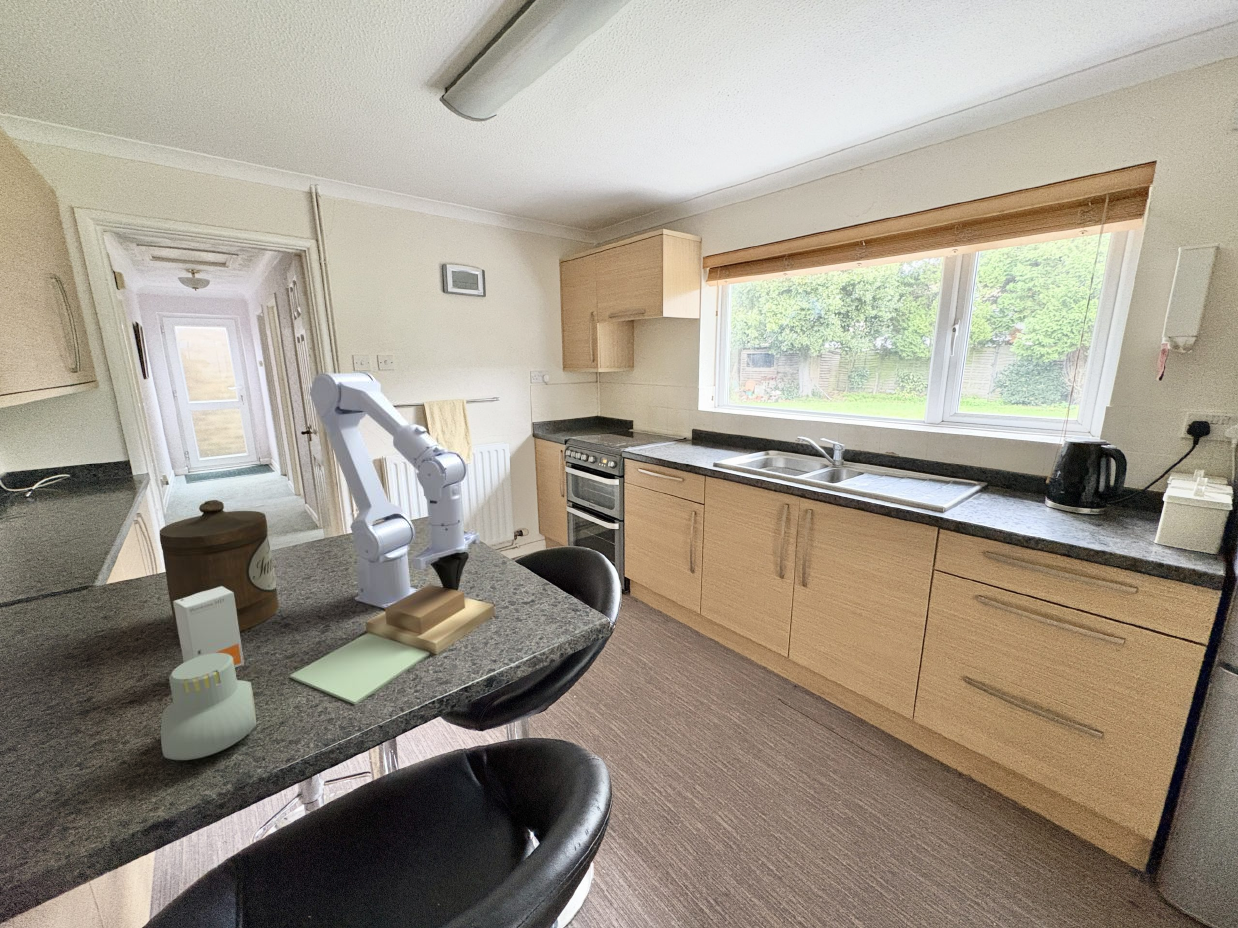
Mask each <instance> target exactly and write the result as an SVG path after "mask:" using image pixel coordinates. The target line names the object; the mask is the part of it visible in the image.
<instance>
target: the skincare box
mask: <svg viewBox="0 0 1238 928" xmlns="http://www.w3.org/2000/svg"><path fill="white" fill-rule="evenodd" d="M173 604H174V609H175V615H176V621H177V627H178V633H179V635H178V637H179V643H180V648H181V649H180V650H181V654H182V659H183V660H182V661H183V663H184V662H186V661H189V660H191V659H193V658H196V657H199V656H202V655H206V654H212V653H225V654H228V655H231V656H232V657H233V662H234V667H235V669H236V668H240V667H242V666H244V664H245V662H244V653H243V648H242V641H241V634H240V632H239V626H238V620H237V613H236V606H235V599H234V593H233V592H232V591H230V590H228V589H226V588H224V587H223V586H221V587H217V588H214V589H211V590H208V591H203V592H200V593H196V594H194V595H191V596H189V597H185V598H182V599H179V600H175V601H173Z"/></svg>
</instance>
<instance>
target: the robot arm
mask: <svg viewBox="0 0 1238 928" xmlns="http://www.w3.org/2000/svg"><path fill="white" fill-rule="evenodd" d="M381 384H382V383H380V382H379V381H378V380H377V379H375V377H374V376H373V375H372V374H371V373H369V372H365V371H361V372H346V373H345V372H344V373H341V372H340V373H339V372H337V373H336V372H335V373H328V372H320V373H317V375H316V376H315V377H314V378H313V381H312V384H311V387H310V391H309V396H310V399H311V401H312V402H313V406H314V407H315V410H316V413H317V414H318V418H319V420H320V422H321V423H322V425H323V428H324V431H325V433H326V435H327V438H328V440H329V443H330V446H331V447H332V450H333V453H334V455H335V458H336V459H337V463H338V464H339V467H340V469H341V471H342V474H343V477H344V478H345V479H344V480H345V482H346V485H347V486H348V488H349V491H350V493H351V496H352V498H353V501H354V503H355V506H356V508H357V510H358V513H357V515H356V516H355V518H354V520H353V521H352V523H351V524H350V531H351V532H352V538H353V546H354V547H353V548H354V550H355V552H356V554H357V555H359V557H358V559H357V561H356V565H355V574H356V582H357V583H356V584H357V593H358V595H357V596H355V597H354V600H355V601H358V602H360V603H361V602H362V603H364V604H368V605H371V606H374V607H378V608H383V609H385V607H387V606H389V605H391V604H393V603H395V602H397V601H399V600H401V599H403V598H405V597H407V596H409V595H411V594H412V593H414V592H416V591H418V590H419V589H418V588H417V589H416V588H413V587H411V579H410V569H409V560H408V559H409V557H408V551H410V550H411V548H410V547H411V544H412V543H413V542H414V540H415V536H416V532H415V526H414V524H413V523H412V520H410V519H409V518H408V517H407V515H406V513H405V511H404V509H403V508H402V507H401V506H399V505H398V504H397V505H396V504H395V503H392V502H390V501H389V499H388V497H387V494H386V492H385V489H384V487H383V485H382V482H381V480H380V477H379V474H378V472H377V470H376V468H375V464H374V463H373V461H372V458H371V456H370V453H369V450H368V448H367V446H366V443H365V441H364V439H363V436H362V433H361V432H360V429H359V425H360V424H359V423H360V421H361V420H363V419H364V418H365V417H366V415H367V416H369V418H371V419H372V420H373V421H374V422H375V423H377V424H378V425H379V427H381V428H383V430H385V431H386V432H387V433H388V434H389V435H391V437H393V439H392V444H393V447H394V449H395V450H396V451H398V453H399V454H400V455H401V456H403V458H404V459H406V460H407V462H408V463H409V464H410V465H412V467H413V468H414V469H415V470H416V471H417V472H416V478H417V481H418V483H419V484H420V486H421V487H422V490H423V496H424V497H425V500H426V504H427V515H428V527H429V540H430V544H429V546H426V548H425V549H423V550H422V551H420V552H419V553H417V554H416V555H414V556H412V557H411V562H412V568H413V569H416V570H420V571H422V570H425V569H426V567H427V566H429V565H430V566H431V567H432V568H433V570H434V572H435V573H436V575H437V576H438V579H439V580H440V583H441V587H444V588H448V589H452V590H457V591H459V588H460V583H461V578H462V574H463V571H464V569H465V568H464V567H465V565H466V564H467V562H468V559H469V558H470V557H469V552H468V549H469V547H470V546H471V545H477V544H479V543H480V533H478V532H473V531H469V532H467V533H465V532H464V520H463V519H464V518H463V506H462V504H463V503H462V492H461V491H462V489H461V482H462V481H463V480H464V479H466V478H465V477H466V475H467V465H466V462H465V460H464V459H463V458H462V456H461V454H460V453H459V452H456V451H452V450H451V451H449V450H448V449H447V448H444V447H443V446H442V445H440V444H439V443H438V442H437V441H436V440H435V439H434V438H433V437H431V435H430V434H428V432H427V431H428V430H427V429H426V428H425V426H423V425H419V424H415V423H414V424H409V423H408V421H407V420H406V418H404V417H403V416H402V415H401V414H400V412H399V411H398V410H397V409H396V408H395V407H394V405H393V404H392V403H391V402H390V401H389V399H388V398H387V397H386V396H385V395H384V393H382V385H381ZM381 520H382V521H381ZM377 521H380V522H378V523H377ZM374 522H376V523H375V524H374Z"/></svg>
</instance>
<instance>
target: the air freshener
mask: <svg viewBox="0 0 1238 928" xmlns="http://www.w3.org/2000/svg"><path fill="white" fill-rule="evenodd" d="M236 673H237V672H236V668H235V667H234V662H233V657H232V656H231V655H228V654H225V653H212V654H206V655H202V656H199V657H196V658H193V659H191V660H189V661H186V662H184V661H183V663H181V664H180V665H178V666H177V667H175V669H173V670H172V671H171V673H170V674H169V676H168V679H169V686H170V690H171V696H172V701H173V702H171V704H169V705H168V706H166V708H164V710H163V712H162V715H161V725H160V742H161V750H162V754H163V757H164V758H166V759H168V760H173V761H174V760H175V761H189V760H196V759H201V758H205V757H208V756H211V755H215V754H217V753H219V752H222V751H224V750H226V749H228V748H230V747H232V746H233V745H235V744H236V743H238V742H239V741H241V740H242V739H243V738H245V737H246V736H247V735H248V734H250V733H251V731H253V730H254V728H255V727H256V726H257V717H256V716H257V714H256V707H255V700H254V692H253V687H252V683H251V682H250V681H246V680H239V679H238V678H237V674H236Z"/></svg>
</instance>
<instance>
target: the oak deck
mask: <svg viewBox="0 0 1238 928" xmlns="http://www.w3.org/2000/svg"><path fill="white" fill-rule="evenodd" d="M464 601H465V608H464V609H462V610H461V611H459V612H458V613H456V614H454V615H453V616H451V617H449V618H448V619H446V620H445V621H443V622H441V623H440V624H438V625H437V626H435V627H433V628H432V629H430V630H429V631H427V632H425V633H424V634H422V635H421V634H418V633H414V632H411V631H408V630H404V629H401V628H397V627H394V626H391V625H387V624H386V614H385V611H383V612H381V613H378V614H377V615H375V616H373V617H372V618H370V619H368V620H366V621H365V629H366V633H370V634H373V635H376V636H380V637H383V638H386V639H389V640H392V641H395V642H398V643H401V644H404V645H408V646H411V647H414V648H417V649H420V650H423V651H426V652H429V654H434V655H436V656H437V655H439V654H440V653H441V652H443V651H445V650H446V649H447V648H449V647H450V646H451V645H453V644H455V643H456V642H458V641H459V640H460V639H462V638H463V637H465V636H466V635H467V634H469V633H471V632H473V630H475V629H477V628H478V627H479V626H481V625H482V624H483V623H486V621H488V620H490V619H491V618H493V617H494V616H495V614H496V613H495V605H494V604H491V603H488V602H484V601H480V600H476V599H473V598H468V597H464Z"/></svg>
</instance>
